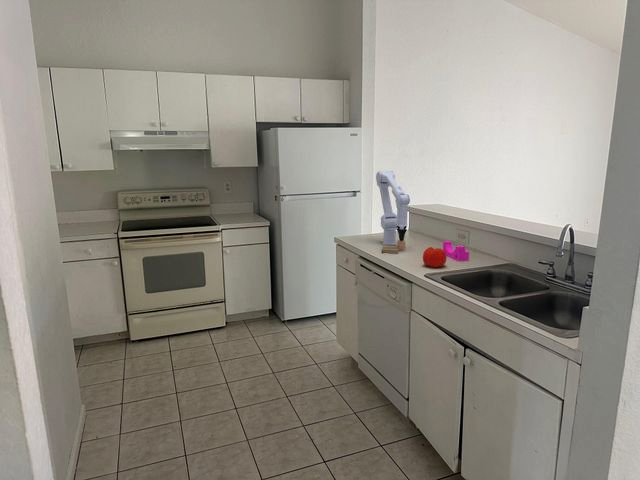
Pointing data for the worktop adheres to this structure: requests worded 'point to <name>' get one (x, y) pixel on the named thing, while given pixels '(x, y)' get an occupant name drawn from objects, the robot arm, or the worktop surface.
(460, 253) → the toy block
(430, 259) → the tomato
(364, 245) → the worktop surface
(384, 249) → the walnut block
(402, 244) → the terracotta block
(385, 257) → the worktop surface
